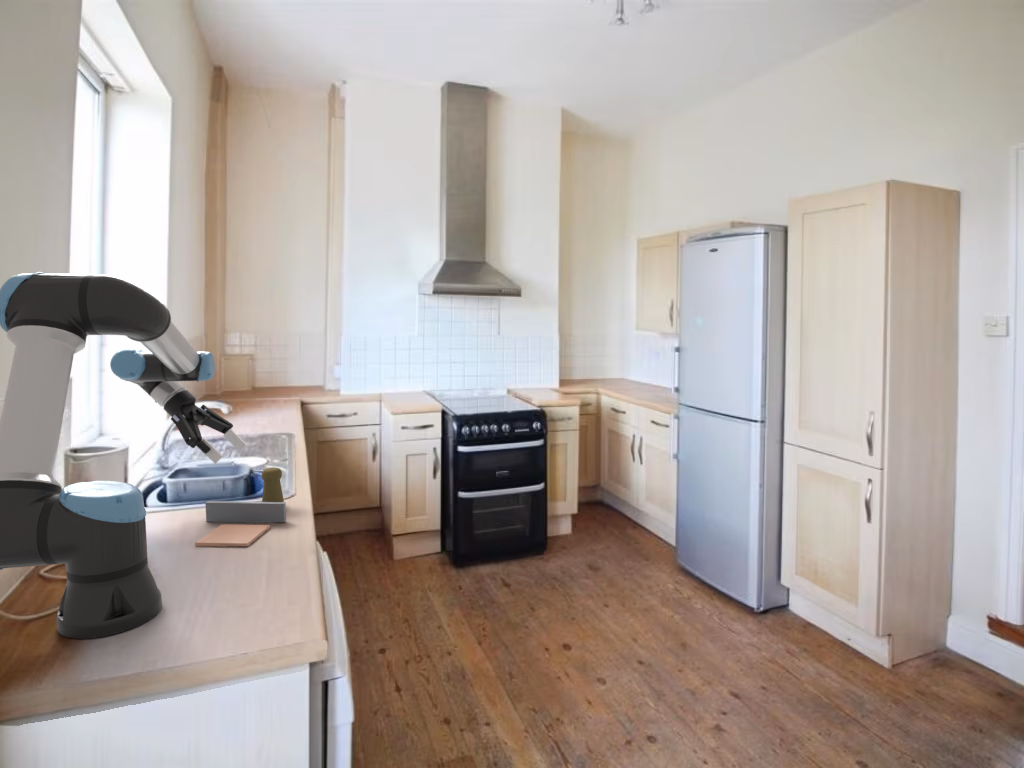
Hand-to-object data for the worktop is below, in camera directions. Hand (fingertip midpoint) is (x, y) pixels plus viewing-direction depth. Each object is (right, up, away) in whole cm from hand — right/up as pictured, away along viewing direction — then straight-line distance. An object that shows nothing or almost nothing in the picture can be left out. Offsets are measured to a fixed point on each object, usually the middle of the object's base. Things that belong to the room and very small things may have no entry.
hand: (232, 454), depth 162 cm
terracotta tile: (+10, -17, -20) cm, 29 cm away
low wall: (+8, -16, -10) cm, 21 cm away
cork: (+10, -15, +1) cm, 18 cm away
